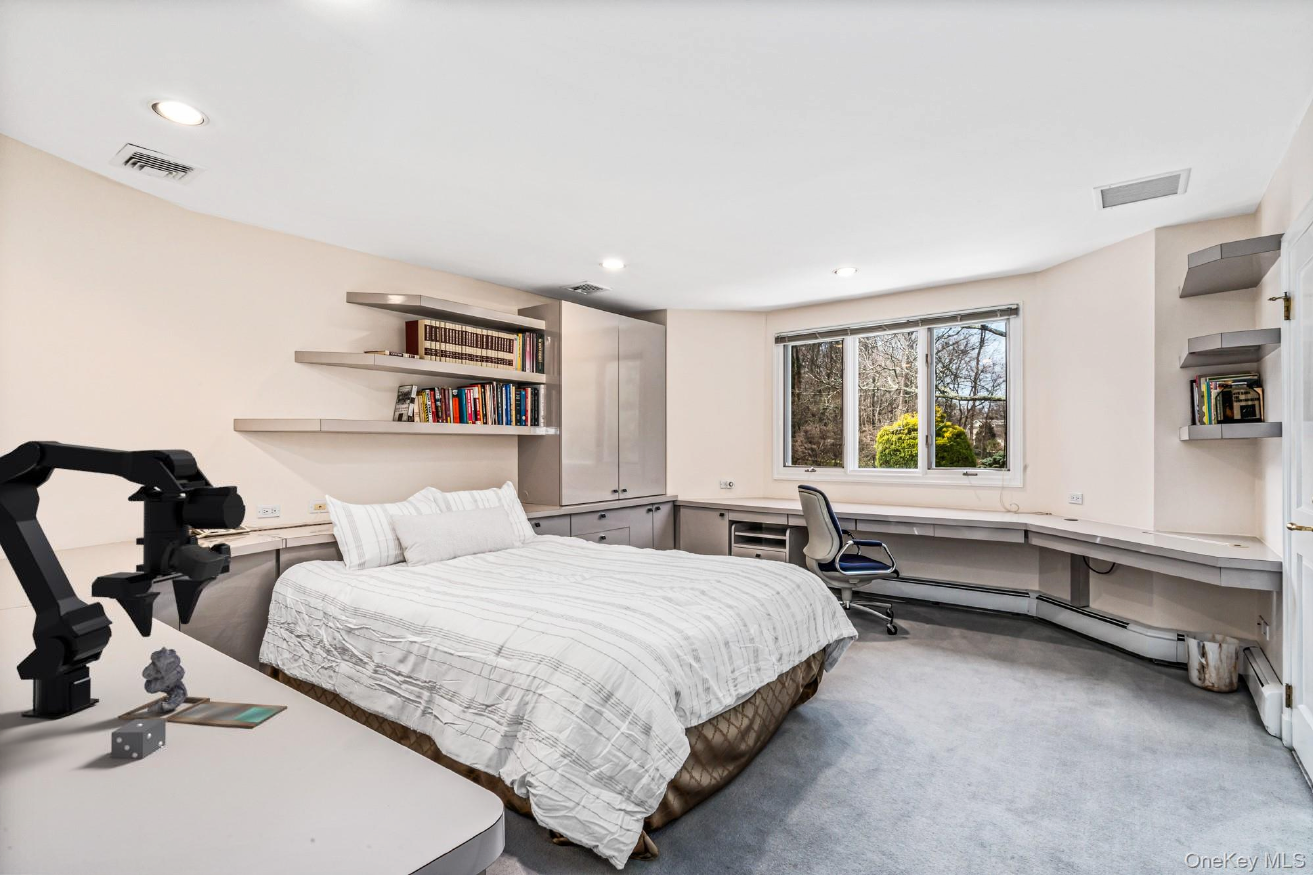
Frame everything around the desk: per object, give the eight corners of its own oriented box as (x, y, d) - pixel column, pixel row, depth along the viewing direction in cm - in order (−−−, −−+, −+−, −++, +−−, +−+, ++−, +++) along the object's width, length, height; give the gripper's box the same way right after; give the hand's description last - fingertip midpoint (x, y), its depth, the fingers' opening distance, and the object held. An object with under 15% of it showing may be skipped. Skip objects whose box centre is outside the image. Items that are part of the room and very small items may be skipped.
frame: (117, 720, 95) (117, 716, 95) (165, 698, 103) (165, 695, 103) (165, 723, 94) (165, 719, 94) (209, 701, 102) (209, 697, 102)
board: (163, 721, 94) (163, 719, 94) (202, 702, 101) (202, 700, 101) (253, 727, 92) (253, 725, 92) (287, 708, 99) (287, 706, 99)
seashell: (163, 719, 95) (163, 653, 95) (134, 716, 96) (134, 650, 96) (195, 705, 100) (196, 642, 100) (167, 702, 101) (168, 640, 102)
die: (109, 763, 82) (110, 731, 82) (135, 748, 87) (135, 717, 87) (143, 763, 82) (143, 731, 83) (166, 747, 87) (167, 717, 87)
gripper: (158, 540, 88) (157, 652, 88) (259, 523, 107) (258, 615, 107) (88, 538, 90) (87, 648, 90) (200, 522, 108) (199, 613, 108)
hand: (166, 630), depth 98 cm, fingers open, 6 cm apart
